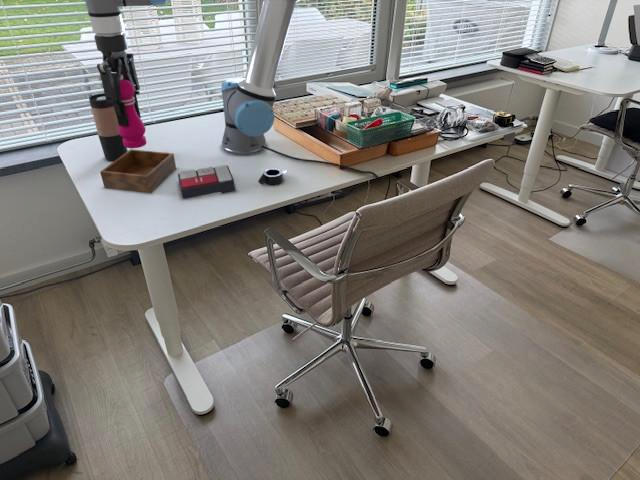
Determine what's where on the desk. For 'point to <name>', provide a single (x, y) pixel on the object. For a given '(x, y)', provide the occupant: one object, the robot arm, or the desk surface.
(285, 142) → the desk surface
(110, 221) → the desk surface
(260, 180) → the duct tape
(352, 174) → the desk surface
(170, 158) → the wooden box
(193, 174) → the black red grey box
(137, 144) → the pepper mill
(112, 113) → the travel mug
